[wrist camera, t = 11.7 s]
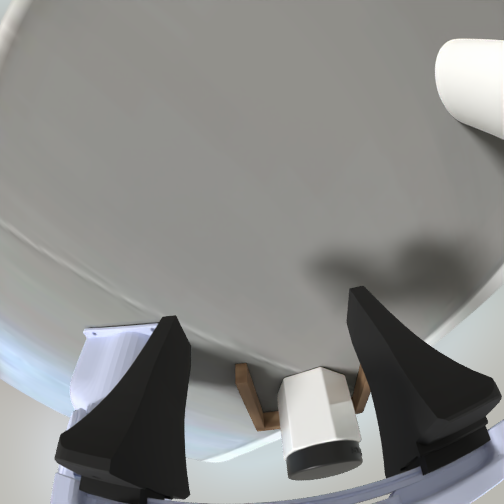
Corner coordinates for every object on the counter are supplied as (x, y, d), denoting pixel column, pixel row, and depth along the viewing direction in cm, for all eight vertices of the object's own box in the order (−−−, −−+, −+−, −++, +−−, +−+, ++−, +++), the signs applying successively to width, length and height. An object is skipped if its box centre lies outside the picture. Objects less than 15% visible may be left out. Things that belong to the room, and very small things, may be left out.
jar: (329, 399, 36) (345, 475, 26) (272, 402, 35) (280, 483, 25) (352, 363, 31) (378, 454, 21) (285, 366, 30) (299, 467, 20)
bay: (256, 416, 38) (257, 431, 36) (235, 364, 29) (235, 383, 27) (358, 398, 37) (362, 412, 35) (374, 339, 29) (381, 356, 27)
